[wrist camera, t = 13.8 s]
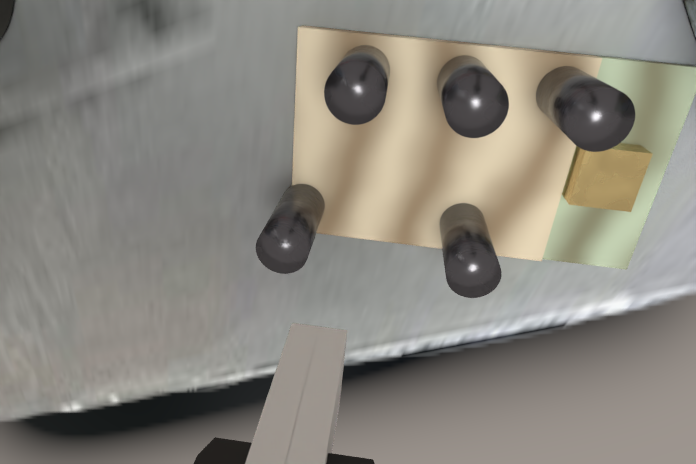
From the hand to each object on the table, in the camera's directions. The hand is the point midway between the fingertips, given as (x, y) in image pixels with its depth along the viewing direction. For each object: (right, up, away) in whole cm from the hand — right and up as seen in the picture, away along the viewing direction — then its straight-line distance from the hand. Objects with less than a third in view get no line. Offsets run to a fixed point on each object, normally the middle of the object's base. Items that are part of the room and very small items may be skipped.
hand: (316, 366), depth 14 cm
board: (+11, +10, +26) cm, 30 cm away
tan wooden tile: (+20, +8, +24) cm, 33 cm away
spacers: (+7, +10, +25) cm, 27 cm away
